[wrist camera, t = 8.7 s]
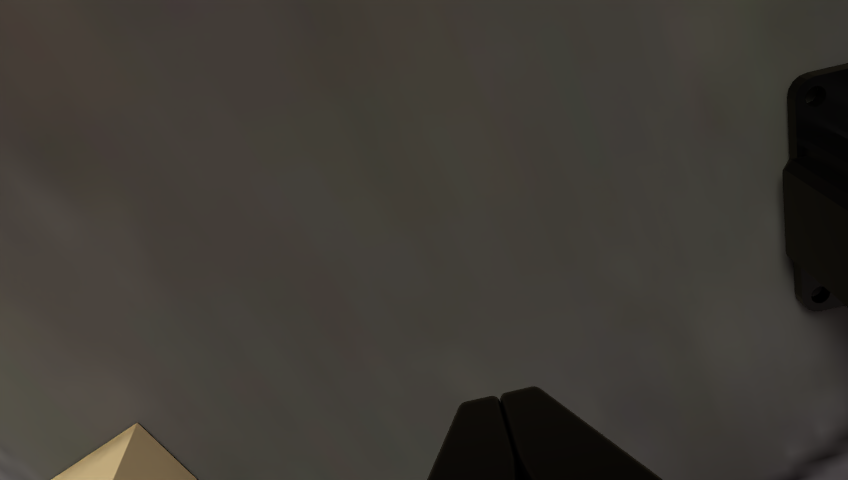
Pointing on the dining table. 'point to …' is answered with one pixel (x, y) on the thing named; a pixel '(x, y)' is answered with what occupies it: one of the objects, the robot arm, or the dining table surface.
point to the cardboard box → (128, 460)
